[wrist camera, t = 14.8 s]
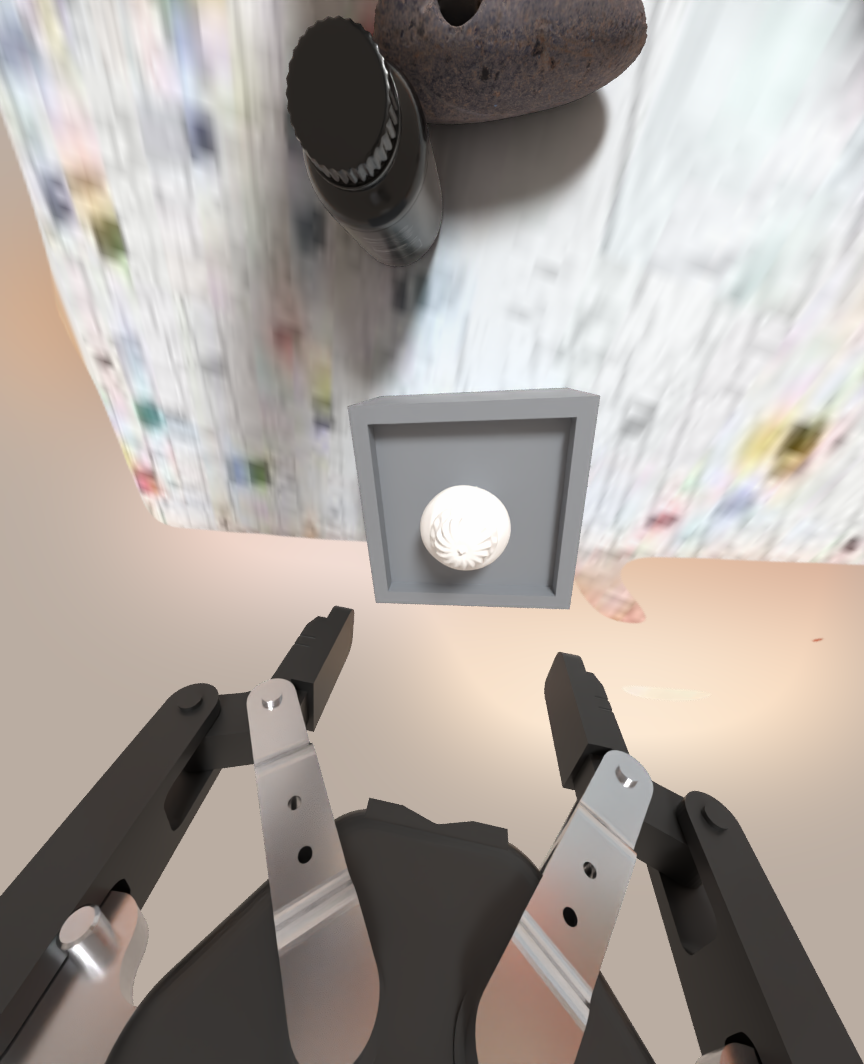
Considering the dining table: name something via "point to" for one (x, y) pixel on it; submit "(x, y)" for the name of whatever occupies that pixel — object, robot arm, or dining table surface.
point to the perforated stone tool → (507, 52)
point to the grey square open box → (486, 462)
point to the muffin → (465, 527)
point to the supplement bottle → (364, 141)
